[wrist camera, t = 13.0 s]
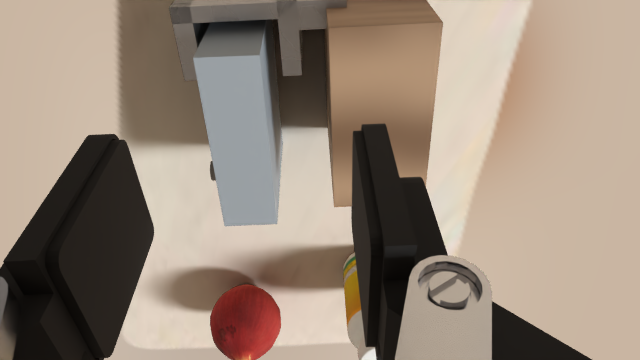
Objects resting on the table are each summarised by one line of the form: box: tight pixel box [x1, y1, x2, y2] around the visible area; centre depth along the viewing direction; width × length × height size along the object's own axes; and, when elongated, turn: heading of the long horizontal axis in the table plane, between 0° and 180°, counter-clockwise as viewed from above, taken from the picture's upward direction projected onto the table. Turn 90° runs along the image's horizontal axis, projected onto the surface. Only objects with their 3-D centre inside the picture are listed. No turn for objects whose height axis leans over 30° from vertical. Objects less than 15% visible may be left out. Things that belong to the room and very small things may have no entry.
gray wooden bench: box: [169, 0, 347, 81], centre depth 27 cm, size 4×9×6 cm, turn 92°
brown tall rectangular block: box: [324, 0, 443, 207], centre depth 28 cm, size 10×5×9 cm, turn 2°
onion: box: [210, 284, 281, 360], centre depth 40 cm, size 6×6×8 cm
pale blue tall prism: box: [193, 19, 283, 226], centre depth 28 cm, size 10×4×9 cm, turn 2°
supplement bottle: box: [343, 252, 376, 360], centre depth 39 cm, size 5×5×10 cm
